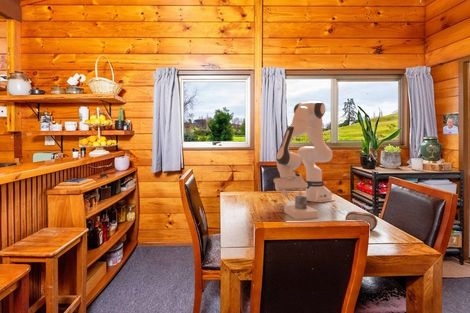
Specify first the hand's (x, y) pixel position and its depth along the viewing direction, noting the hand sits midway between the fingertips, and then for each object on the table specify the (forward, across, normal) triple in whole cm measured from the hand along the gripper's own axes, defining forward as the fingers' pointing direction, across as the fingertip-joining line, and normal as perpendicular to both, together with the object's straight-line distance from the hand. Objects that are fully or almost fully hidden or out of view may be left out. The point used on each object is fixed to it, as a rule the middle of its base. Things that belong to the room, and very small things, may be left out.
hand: (293, 195), depth 196 cm
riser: (+15, 0, -1) cm, 15 cm away
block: (+12, 0, -4) cm, 12 cm away
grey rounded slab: (+38, +18, -24) cm, 48 cm away
